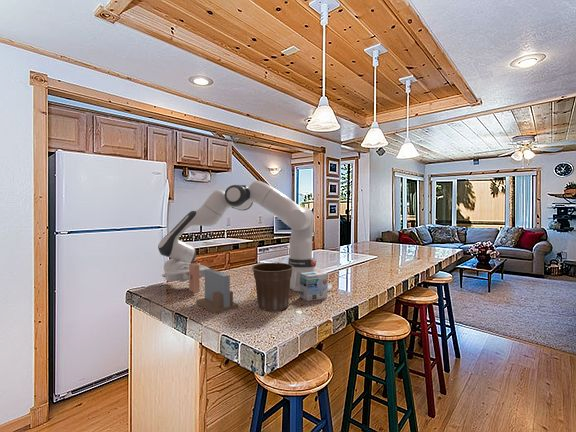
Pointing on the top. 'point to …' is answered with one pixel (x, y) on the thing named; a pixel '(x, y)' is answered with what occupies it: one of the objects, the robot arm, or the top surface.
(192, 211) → the robot arm
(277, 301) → the plant pot
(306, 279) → the light bulb box
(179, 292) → the top surface
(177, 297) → the top surface
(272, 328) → the top surface
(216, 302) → the ticket holder
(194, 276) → the stub
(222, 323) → the top surface
